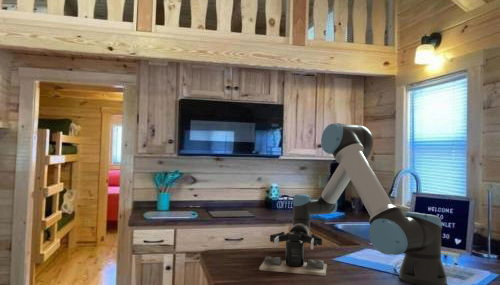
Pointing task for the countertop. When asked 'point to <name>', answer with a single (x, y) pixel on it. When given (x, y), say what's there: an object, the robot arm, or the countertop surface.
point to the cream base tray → (307, 268)
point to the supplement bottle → (294, 250)
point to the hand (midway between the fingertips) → (293, 244)
